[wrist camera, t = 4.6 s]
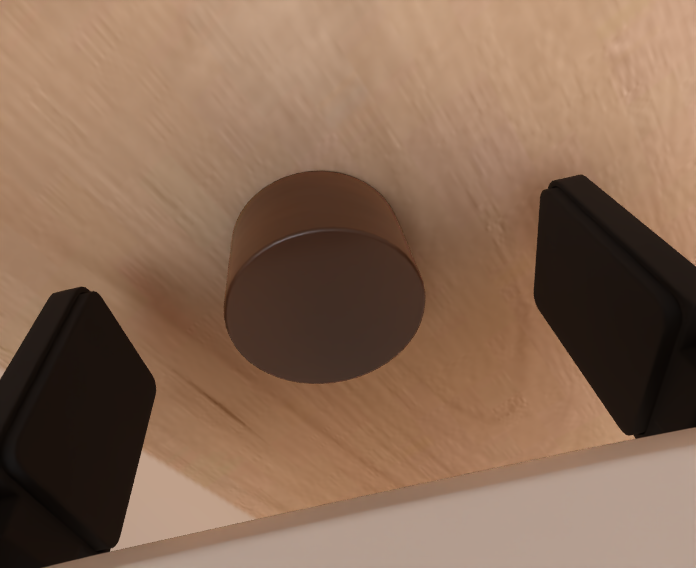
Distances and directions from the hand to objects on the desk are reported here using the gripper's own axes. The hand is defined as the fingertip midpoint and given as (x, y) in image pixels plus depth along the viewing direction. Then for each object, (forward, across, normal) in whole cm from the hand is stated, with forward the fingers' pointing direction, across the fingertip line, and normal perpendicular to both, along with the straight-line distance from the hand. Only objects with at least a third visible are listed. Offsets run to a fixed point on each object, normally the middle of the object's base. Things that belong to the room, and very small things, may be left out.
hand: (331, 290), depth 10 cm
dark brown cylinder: (+2, 0, 0) cm, 2 cm away
